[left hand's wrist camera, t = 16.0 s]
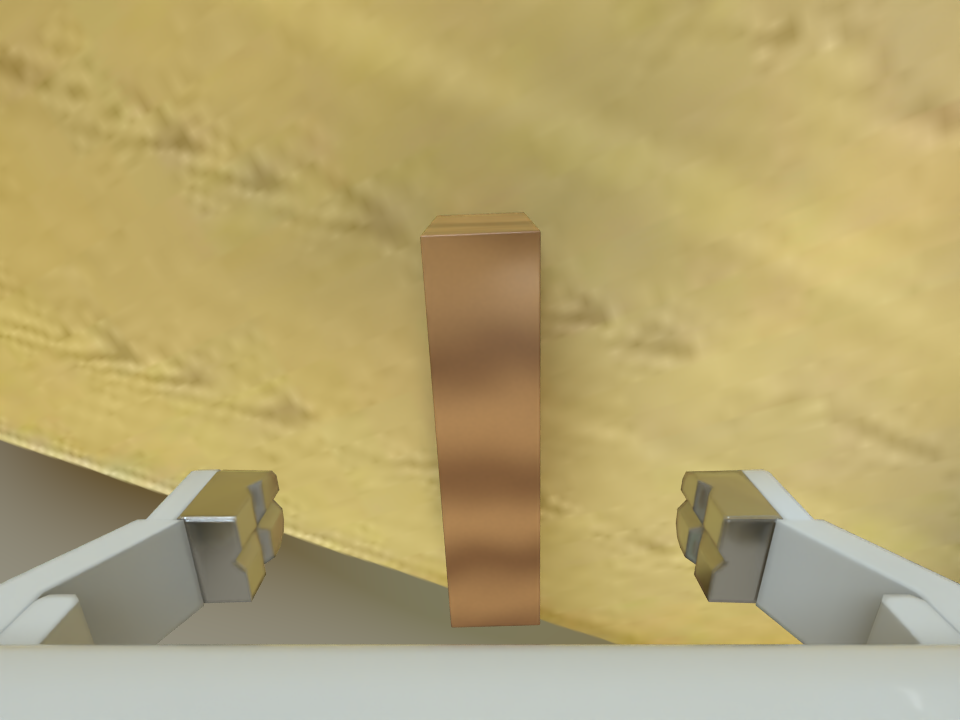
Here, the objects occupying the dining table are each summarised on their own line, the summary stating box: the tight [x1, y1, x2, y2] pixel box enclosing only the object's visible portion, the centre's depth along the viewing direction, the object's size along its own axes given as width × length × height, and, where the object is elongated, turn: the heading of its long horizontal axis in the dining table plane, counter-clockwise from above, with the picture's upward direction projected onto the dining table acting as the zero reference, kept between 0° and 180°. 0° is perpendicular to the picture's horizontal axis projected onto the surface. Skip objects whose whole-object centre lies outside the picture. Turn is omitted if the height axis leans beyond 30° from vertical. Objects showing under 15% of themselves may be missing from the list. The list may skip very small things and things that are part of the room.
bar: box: [420, 213, 541, 627], centre depth 33 cm, size 24×6×10 cm, turn 2°
